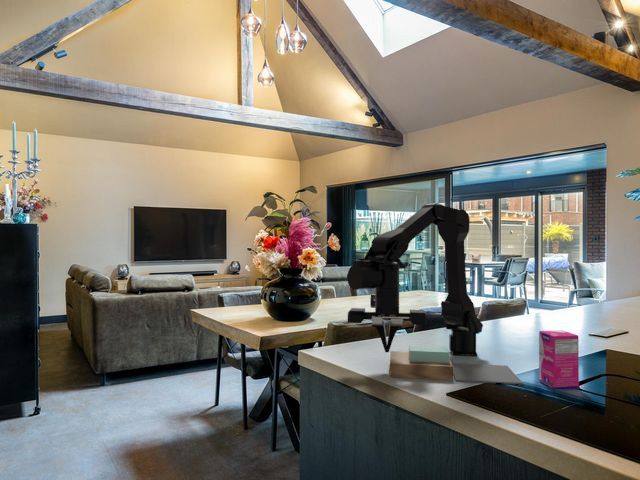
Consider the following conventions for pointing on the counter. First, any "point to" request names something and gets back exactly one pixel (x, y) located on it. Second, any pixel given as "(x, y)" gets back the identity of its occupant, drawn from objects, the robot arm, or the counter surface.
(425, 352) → the mint green block
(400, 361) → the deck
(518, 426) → the counter surface
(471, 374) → the mat
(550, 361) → the supplement box
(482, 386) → the counter surface
